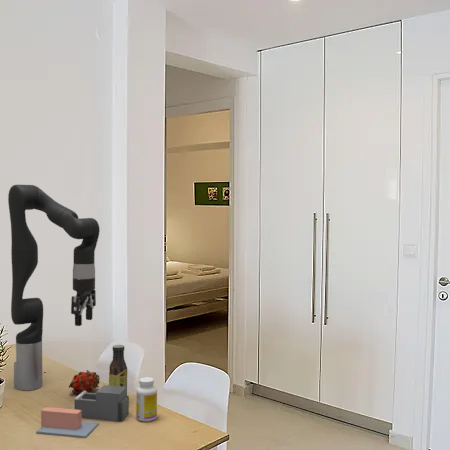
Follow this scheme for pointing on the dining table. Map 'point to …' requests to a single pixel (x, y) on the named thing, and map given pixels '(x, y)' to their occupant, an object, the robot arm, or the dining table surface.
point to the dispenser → (104, 403)
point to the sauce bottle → (118, 367)
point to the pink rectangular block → (61, 418)
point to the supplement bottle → (146, 400)
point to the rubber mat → (70, 430)
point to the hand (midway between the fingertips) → (83, 322)
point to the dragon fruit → (84, 382)
